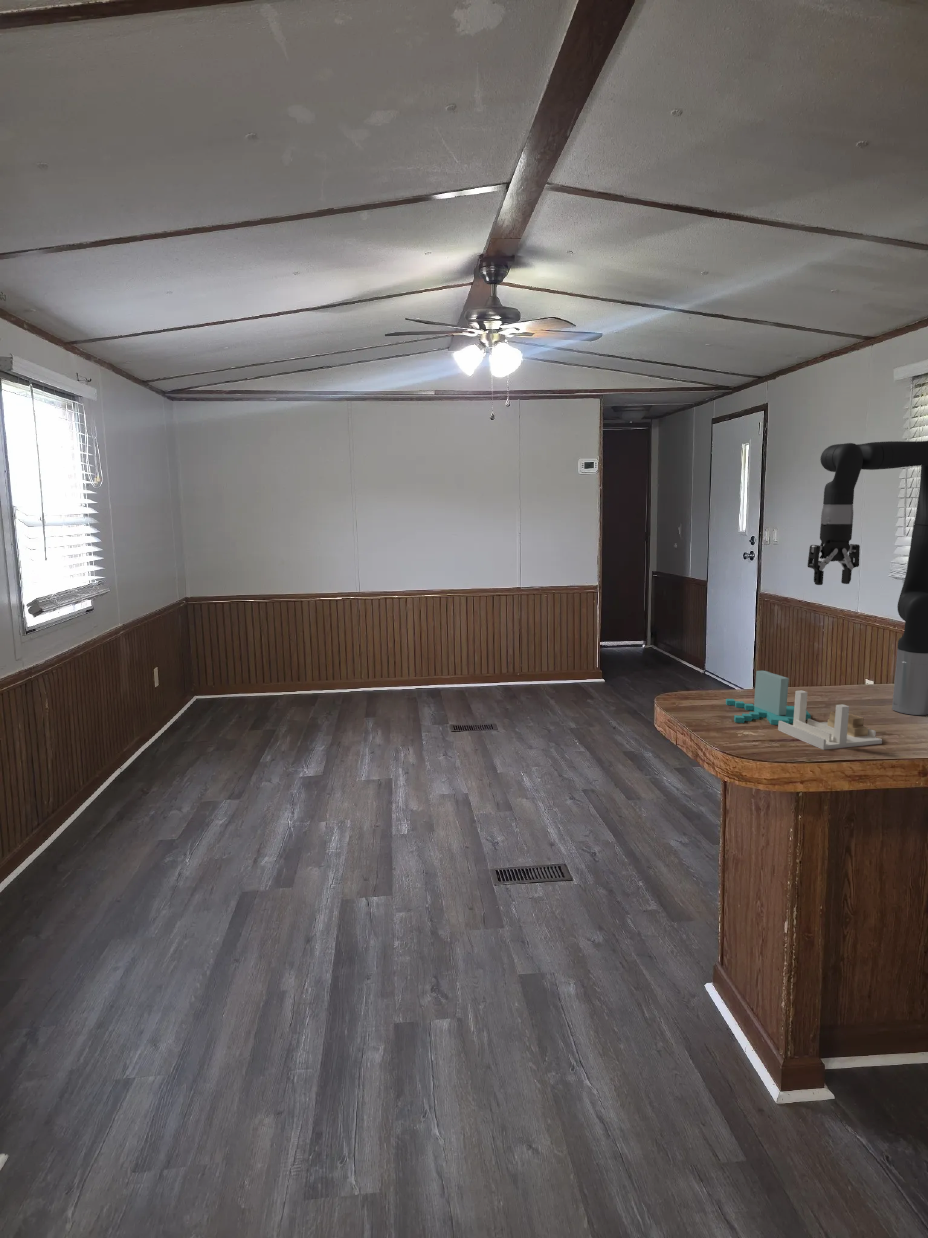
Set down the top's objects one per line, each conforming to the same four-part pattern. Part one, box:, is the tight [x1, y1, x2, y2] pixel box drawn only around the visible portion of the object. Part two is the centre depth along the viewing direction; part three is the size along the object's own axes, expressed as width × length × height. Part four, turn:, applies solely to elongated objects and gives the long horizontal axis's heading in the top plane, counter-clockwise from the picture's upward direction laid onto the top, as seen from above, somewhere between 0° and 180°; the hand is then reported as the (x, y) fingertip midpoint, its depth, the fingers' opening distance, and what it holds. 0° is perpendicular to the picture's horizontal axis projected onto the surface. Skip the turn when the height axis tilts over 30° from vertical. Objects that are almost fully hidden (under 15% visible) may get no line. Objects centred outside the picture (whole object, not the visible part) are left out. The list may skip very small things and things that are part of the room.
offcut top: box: [828, 710, 865, 727], centre depth 193 cm, size 4×7×2 cm, turn 22°
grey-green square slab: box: [753, 670, 790, 716], centre depth 209 cm, size 2×10×10 cm, turn 17°
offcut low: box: [827, 718, 869, 737], centre depth 192 cm, size 4×9×2 cm, turn 16°
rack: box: [777, 689, 883, 751], centre depth 190 cm, size 17×16×10 cm
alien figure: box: [725, 698, 812, 726], centre depth 211 cm, size 20×2×20 cm
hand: (831, 584), depth 203 cm, fingers open, 8 cm apart
